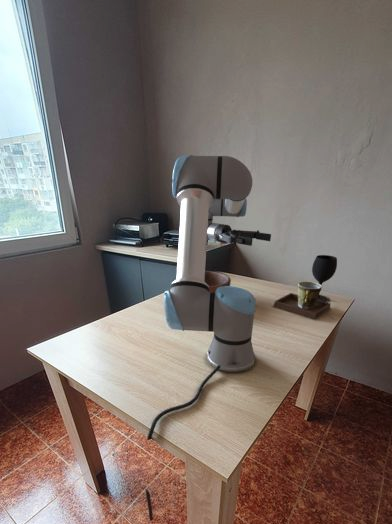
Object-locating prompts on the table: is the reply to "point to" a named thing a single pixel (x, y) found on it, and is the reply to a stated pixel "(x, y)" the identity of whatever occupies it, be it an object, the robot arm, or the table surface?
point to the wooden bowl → (216, 280)
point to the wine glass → (324, 270)
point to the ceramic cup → (308, 294)
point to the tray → (291, 305)
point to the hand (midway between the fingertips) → (261, 239)
